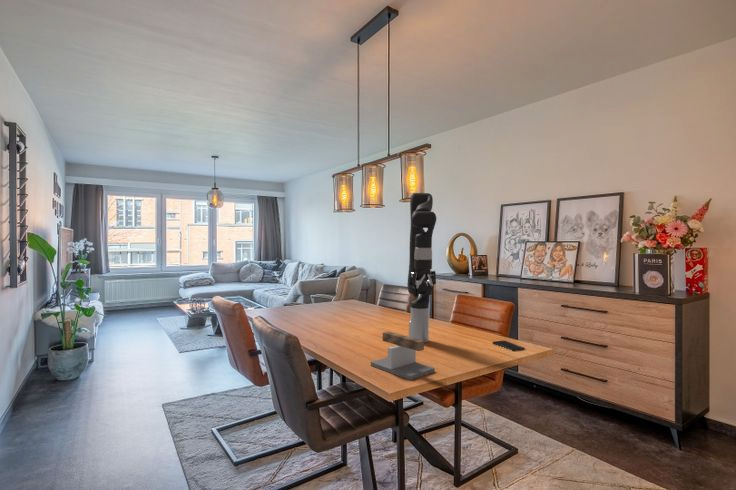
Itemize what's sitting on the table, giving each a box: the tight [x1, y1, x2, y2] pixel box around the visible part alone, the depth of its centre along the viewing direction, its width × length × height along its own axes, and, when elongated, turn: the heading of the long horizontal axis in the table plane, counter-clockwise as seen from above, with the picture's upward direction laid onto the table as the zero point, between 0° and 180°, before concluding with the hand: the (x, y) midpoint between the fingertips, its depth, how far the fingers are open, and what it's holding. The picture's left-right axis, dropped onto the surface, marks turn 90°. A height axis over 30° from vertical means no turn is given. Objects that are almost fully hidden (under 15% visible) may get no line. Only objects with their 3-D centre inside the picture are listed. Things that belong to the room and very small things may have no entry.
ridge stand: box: [370, 345, 436, 381], centre depth 156 cm, size 22×14×10 cm, turn 41°
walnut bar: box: [382, 331, 425, 352], centre depth 156 cm, size 20×3×4 cm, turn 41°
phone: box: [492, 340, 526, 352], centre depth 190 cm, size 8×1×15 cm
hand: (422, 295), depth 167 cm, fingers open, 8 cm apart
